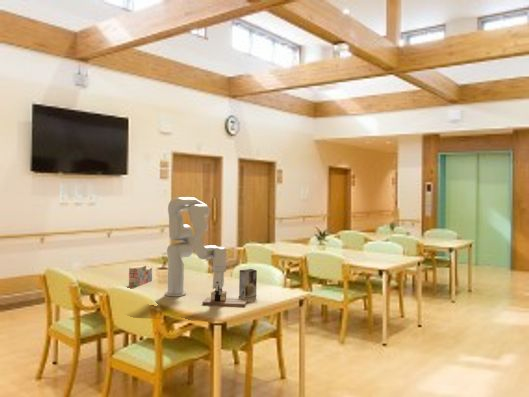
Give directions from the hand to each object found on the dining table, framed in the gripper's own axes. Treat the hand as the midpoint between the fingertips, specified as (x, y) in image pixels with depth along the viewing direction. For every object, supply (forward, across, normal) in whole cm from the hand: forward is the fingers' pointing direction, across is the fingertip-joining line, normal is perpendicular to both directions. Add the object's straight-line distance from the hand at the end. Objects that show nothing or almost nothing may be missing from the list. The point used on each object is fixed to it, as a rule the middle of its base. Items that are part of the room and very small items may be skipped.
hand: (218, 299), depth 269 cm
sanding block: (0, 0, 0) cm, 0 cm away
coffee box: (+2, -21, +14) cm, 25 cm away
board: (+2, 0, +4) cm, 4 cm away
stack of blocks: (+3, -43, -62) cm, 76 cm away
